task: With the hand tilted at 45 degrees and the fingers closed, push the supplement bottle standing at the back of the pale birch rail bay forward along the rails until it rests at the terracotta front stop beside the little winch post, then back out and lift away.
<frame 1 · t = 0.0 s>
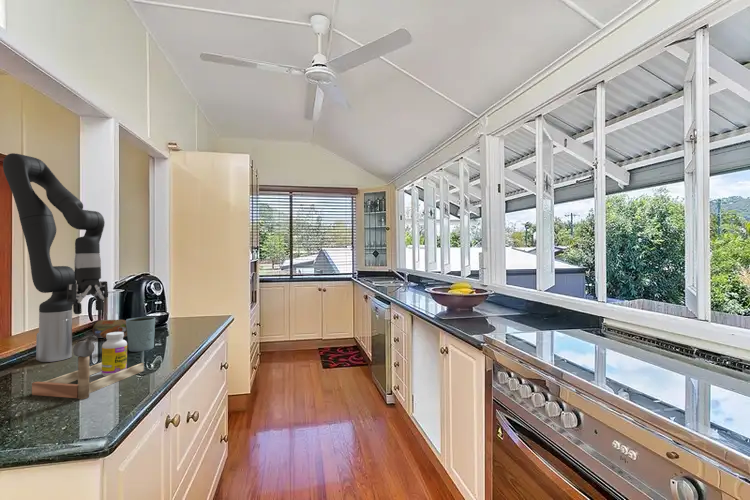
hand: (88, 312, 137), 17 cm above the worktop, tool pointing down, fingers open, 8 cm apart
bay: (98, 379, 117), on the worktop
supplement bottle: (114, 374, 123), on the worktop
tin: (111, 338, 171), on the worktop
grey green cup: (140, 349, 154), on the worktop
kendama: (138, 341, 167), on the worktop
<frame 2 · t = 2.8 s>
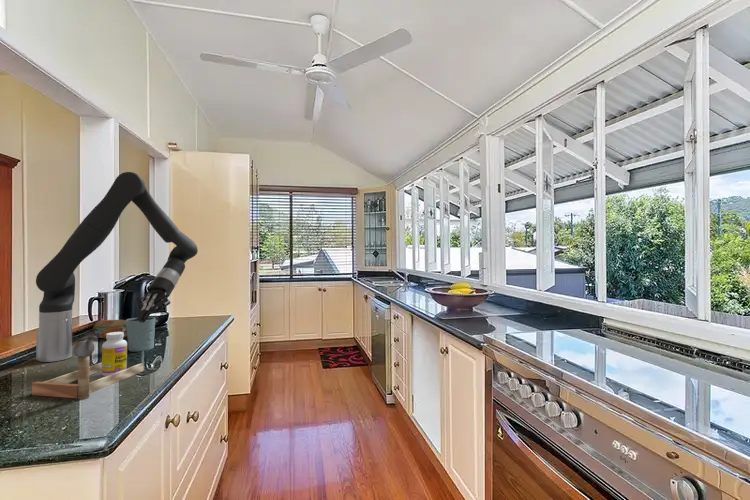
hand: (140, 321, 133), 15 cm above the worktop, tool tilted 45°, fingers closed
nothing on the worktop moved.
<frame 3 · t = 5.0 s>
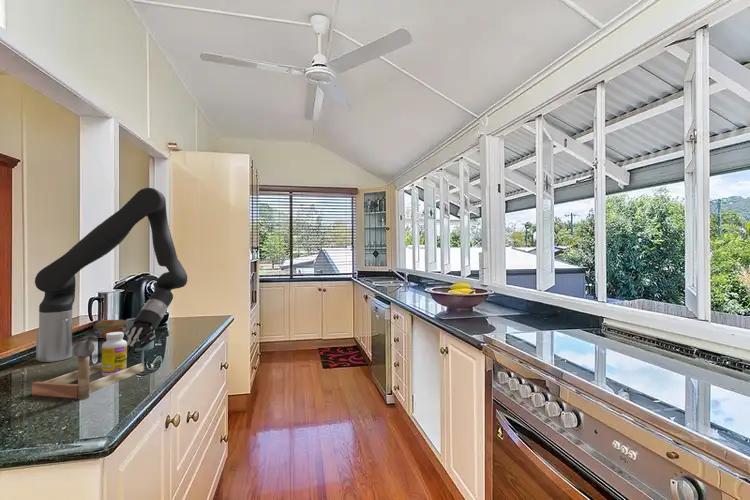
hand: (124, 358, 126), 4 cm above the worktop, tool tilted 45°, fingers closed
supplement bottle: (114, 374, 123), on the worktop, touching gripper
everything else where it was.
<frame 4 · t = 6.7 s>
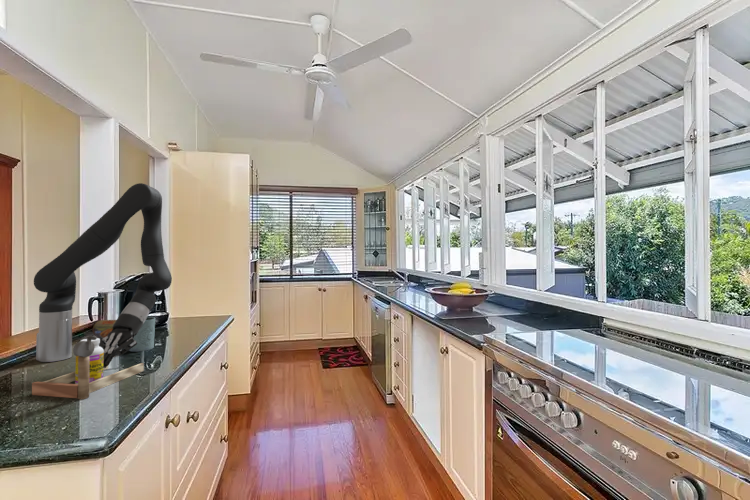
hand: (101, 366, 117), 4 cm above the worktop, tool tilted 45°, fingers closed
supplement bottle: (89, 384, 113), on the worktop, touching gripper
everything else where it was.
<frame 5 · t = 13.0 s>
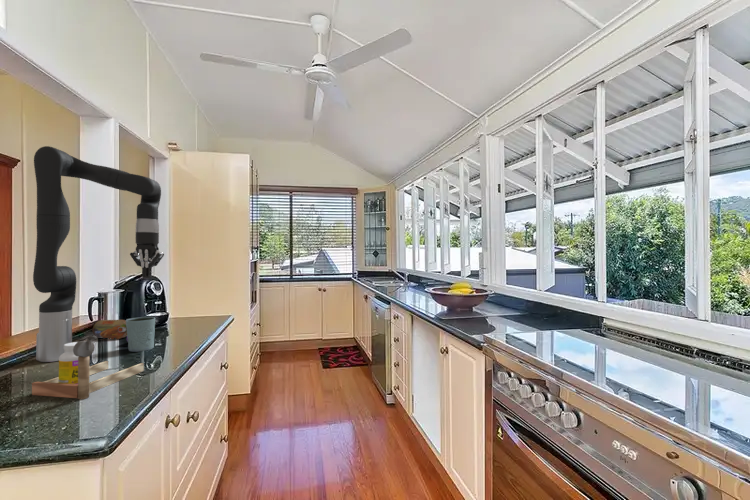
hand: (146, 277, 144), 29 cm above the worktop, tool pointing down, fingers closed
supplement bottle: (73, 390, 109), on the worktop
everything else where it was.
at the end: supplement bottle inside the target area (0.1 cm from its centre), on the worktop; supplement bottle tilted 0°; supplement bottle moved 14.2 cm from its start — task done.
